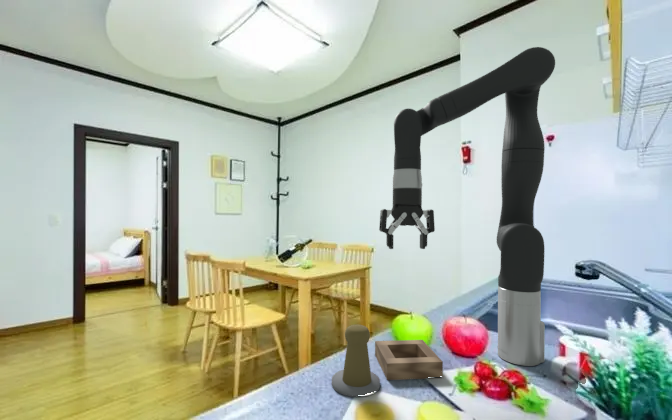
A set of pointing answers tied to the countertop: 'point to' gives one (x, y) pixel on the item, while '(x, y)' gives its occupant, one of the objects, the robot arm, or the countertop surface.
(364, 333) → the brown pawn
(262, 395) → the countertop surface
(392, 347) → the pocket block
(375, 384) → the coaster
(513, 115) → the robot arm
